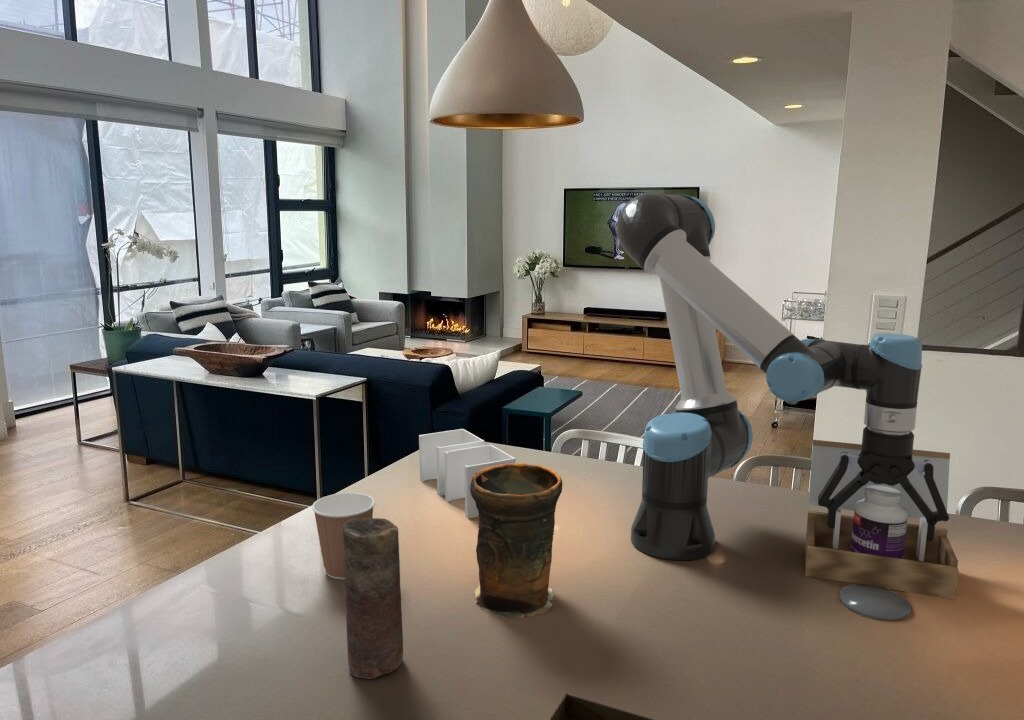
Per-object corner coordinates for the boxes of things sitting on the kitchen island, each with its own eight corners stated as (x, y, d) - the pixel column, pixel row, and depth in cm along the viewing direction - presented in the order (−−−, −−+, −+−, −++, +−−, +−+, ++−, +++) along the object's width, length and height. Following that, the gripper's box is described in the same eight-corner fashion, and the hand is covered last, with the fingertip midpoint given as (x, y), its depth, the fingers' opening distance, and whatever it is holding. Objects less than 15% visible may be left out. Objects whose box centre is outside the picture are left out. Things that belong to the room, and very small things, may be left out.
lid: (813, 439, 137) (812, 439, 138) (808, 504, 136) (808, 504, 136) (950, 453, 129) (949, 453, 130) (946, 522, 128) (945, 521, 129)
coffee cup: (389, 563, 130) (387, 498, 128) (352, 589, 121) (350, 519, 118) (341, 552, 134) (338, 488, 132) (302, 577, 125) (298, 509, 123)
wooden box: (805, 575, 126) (808, 536, 124) (805, 546, 137) (808, 510, 135) (954, 599, 118) (960, 557, 117) (941, 566, 129) (946, 528, 128)
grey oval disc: (840, 612, 114) (841, 609, 114) (838, 583, 123) (838, 580, 123) (914, 625, 110) (915, 621, 110) (906, 594, 119) (906, 590, 119)
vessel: (572, 581, 123) (573, 466, 119) (547, 627, 110) (547, 499, 106) (490, 568, 128) (488, 457, 124) (457, 611, 115) (454, 488, 111)
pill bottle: (838, 564, 130) (845, 485, 127) (875, 557, 132) (883, 480, 130) (873, 585, 122) (882, 502, 120) (912, 578, 125) (921, 496, 122)
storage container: (515, 509, 155) (515, 458, 153) (467, 519, 149) (467, 467, 147) (463, 473, 176) (463, 428, 174) (420, 481, 171) (419, 435, 169)
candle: (352, 649, 104) (346, 513, 100) (405, 647, 105) (401, 512, 101) (344, 683, 96) (338, 537, 93) (401, 680, 97) (397, 535, 93)
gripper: (808, 427, 123) (799, 549, 127) (979, 443, 115) (964, 573, 119) (808, 416, 130) (799, 532, 134) (969, 430, 122) (955, 553, 126)
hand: (876, 551), depth 127 cm, fingers open, 12 cm apart
